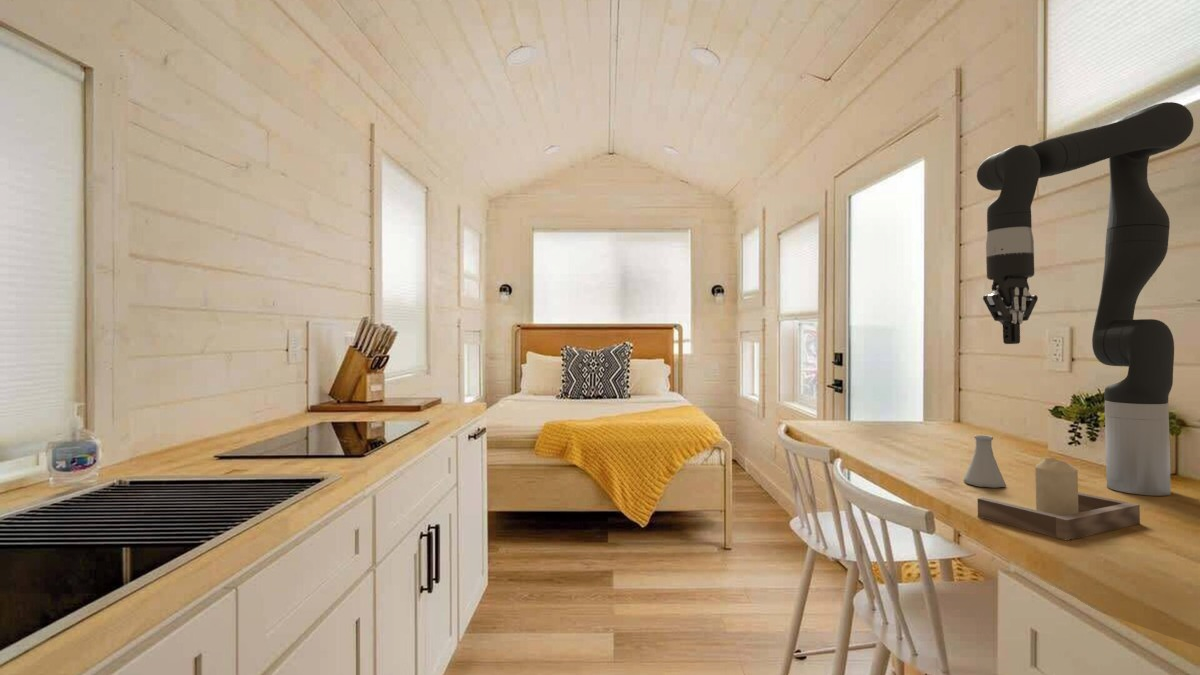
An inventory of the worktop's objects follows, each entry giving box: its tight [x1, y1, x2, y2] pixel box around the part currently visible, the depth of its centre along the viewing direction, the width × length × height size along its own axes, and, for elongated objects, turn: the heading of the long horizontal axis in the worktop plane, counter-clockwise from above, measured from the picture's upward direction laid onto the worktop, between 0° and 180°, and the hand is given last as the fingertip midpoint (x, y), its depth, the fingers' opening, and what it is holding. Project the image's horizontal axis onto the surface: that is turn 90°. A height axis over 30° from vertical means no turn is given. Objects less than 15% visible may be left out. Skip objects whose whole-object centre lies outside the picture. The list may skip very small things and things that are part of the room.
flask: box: [963, 434, 1007, 489], centre depth 121 cm, size 7×7×10 cm
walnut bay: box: [977, 492, 1141, 541], centre depth 97 cm, size 19×14×3 cm
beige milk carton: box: [1034, 457, 1079, 516], centre depth 97 cm, size 6×6×10 cm
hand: (1011, 343), depth 113 cm, fingers closed
